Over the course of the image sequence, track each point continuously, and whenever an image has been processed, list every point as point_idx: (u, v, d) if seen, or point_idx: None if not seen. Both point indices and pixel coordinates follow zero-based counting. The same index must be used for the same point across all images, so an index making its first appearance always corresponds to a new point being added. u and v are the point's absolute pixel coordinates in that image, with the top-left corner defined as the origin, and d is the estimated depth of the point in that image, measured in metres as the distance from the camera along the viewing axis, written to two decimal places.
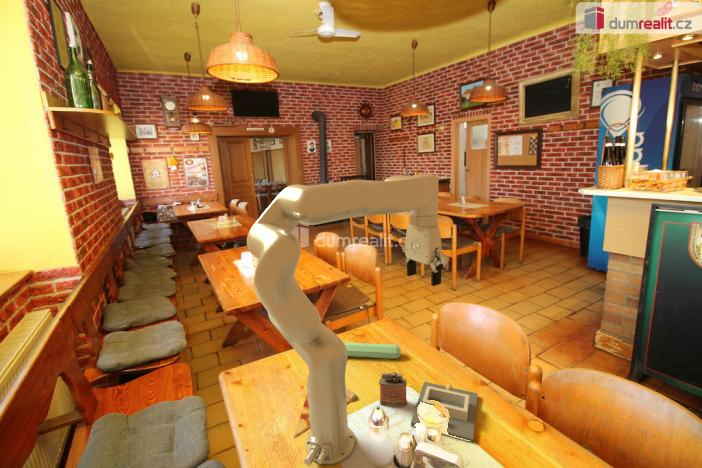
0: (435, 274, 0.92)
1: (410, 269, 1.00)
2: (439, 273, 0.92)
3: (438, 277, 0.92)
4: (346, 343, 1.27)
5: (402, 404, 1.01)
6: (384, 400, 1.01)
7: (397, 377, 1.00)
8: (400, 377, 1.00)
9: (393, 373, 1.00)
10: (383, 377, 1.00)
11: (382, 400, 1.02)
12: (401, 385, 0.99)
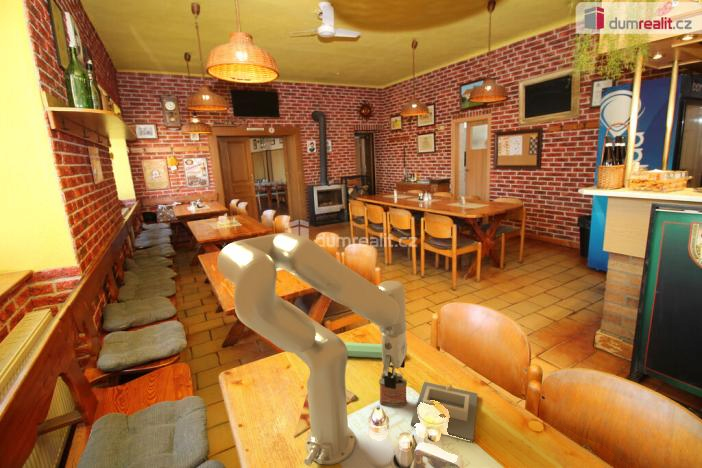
0: None
1: None
2: None
3: None
4: (346, 343, 1.27)
5: (402, 404, 1.01)
6: (384, 400, 1.01)
7: (397, 377, 1.00)
8: (400, 377, 1.00)
9: None
10: (383, 377, 1.00)
11: (382, 400, 1.02)
12: (401, 385, 0.99)
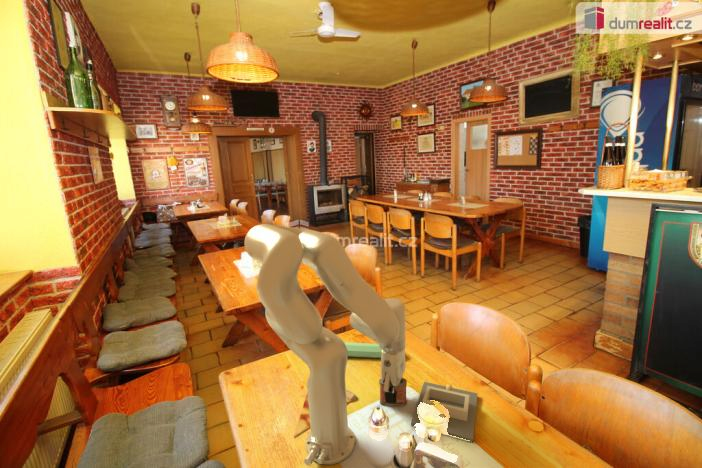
0: None
1: None
2: None
3: None
4: (346, 343, 1.27)
5: (402, 404, 1.01)
6: (384, 400, 1.01)
7: None
8: None
9: None
10: None
11: (382, 400, 1.02)
12: (401, 385, 0.99)
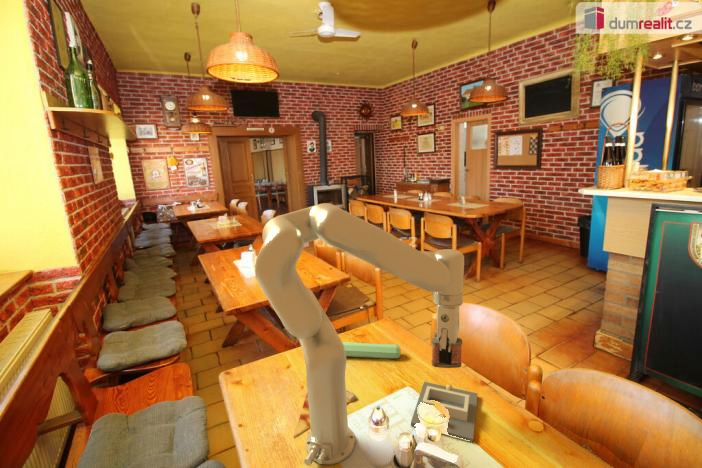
0: None
1: None
2: None
3: None
4: (346, 343, 1.27)
5: (457, 366, 0.93)
6: (437, 361, 0.94)
7: None
8: None
9: None
10: None
11: (435, 361, 0.94)
12: (457, 344, 0.92)
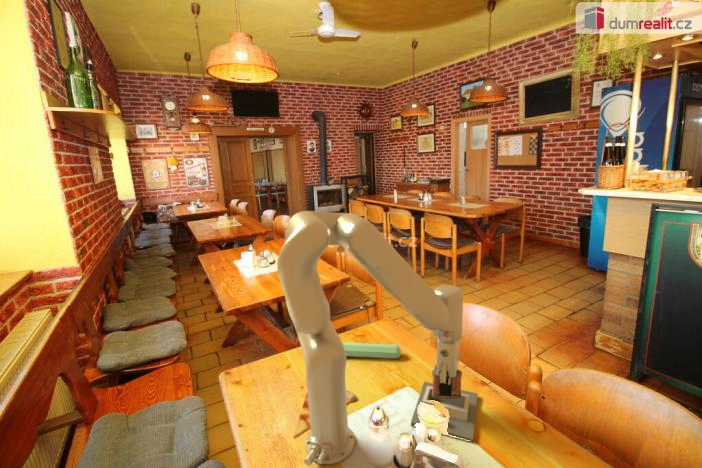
0: None
1: None
2: None
3: None
4: (346, 343, 1.27)
5: (457, 397, 0.96)
6: (438, 393, 0.96)
7: None
8: None
9: None
10: None
11: (435, 392, 0.96)
12: (456, 376, 0.94)
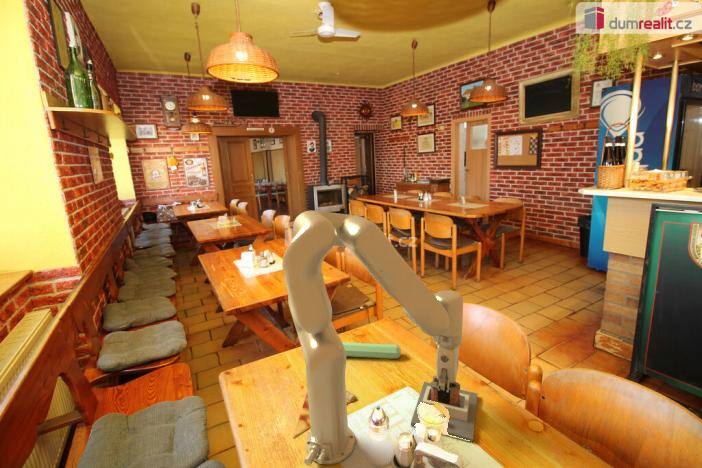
0: None
1: None
2: None
3: None
4: (346, 343, 1.27)
5: None
6: None
7: None
8: None
9: None
10: (435, 380, 0.96)
11: None
12: (454, 389, 0.95)
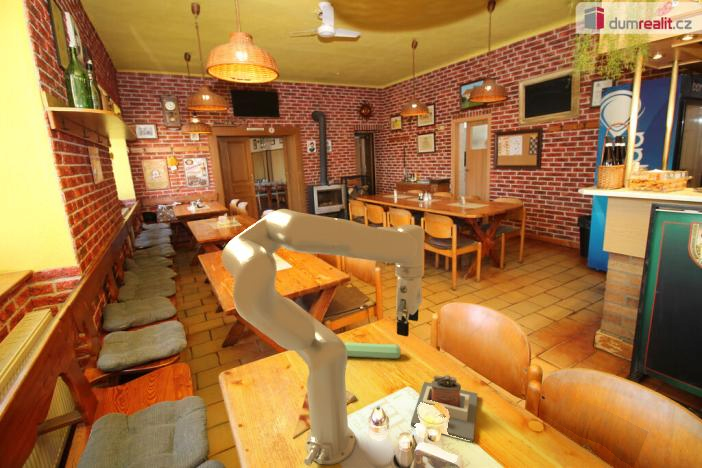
0: None
1: None
2: None
3: None
4: (346, 343, 1.27)
5: None
6: None
7: (451, 381, 0.95)
8: (454, 381, 0.95)
9: (446, 376, 0.96)
10: (436, 380, 0.96)
11: None
12: (455, 389, 0.95)
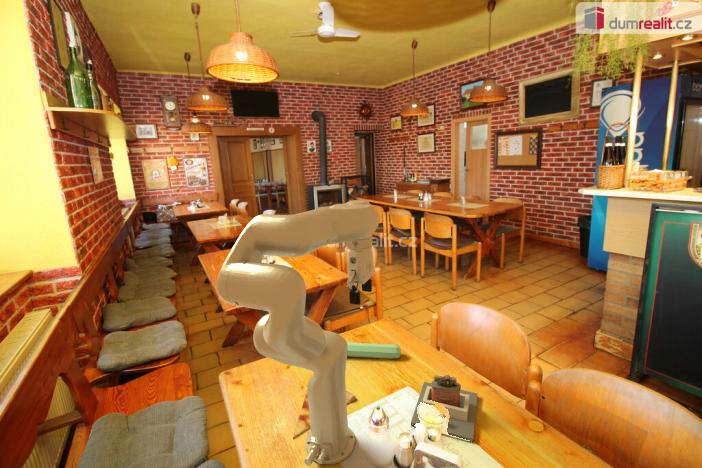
0: None
1: None
2: None
3: None
4: None
5: None
6: None
7: (451, 381, 0.95)
8: (454, 381, 0.95)
9: (446, 376, 0.96)
10: (436, 380, 0.96)
11: None
12: (455, 389, 0.95)
